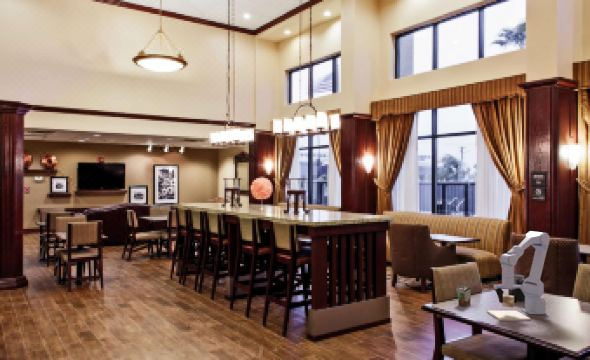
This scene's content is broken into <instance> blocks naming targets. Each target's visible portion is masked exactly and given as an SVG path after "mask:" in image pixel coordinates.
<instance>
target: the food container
mask: <svg viewBox="0 0 590 360" xmlns="http://www.w3.org/2000/svg"><path fill="white" fill-rule="evenodd" d="M456 292H457V301H458V302H457V303H458V306H460V307H463V308H466V307H468V306H469V305H471V293H472V286H470V285H458V286H457V288H456Z"/></svg>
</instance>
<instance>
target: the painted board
mask: <svg viewBox="0 0 590 360" xmlns="http://www.w3.org/2000/svg"><path fill="white" fill-rule="evenodd" d="M486 313H487V314H489V315H491V316H492V317H494V318H495V319H497V320H499V321H502V322H503V321H506V322H507V321H508V322H509V321H513V322H515V321H517V322H519V321H522V322H523V321H531V320H532V319H531V317H529V316H527V315H525V314H524V313H521V312H519V311H518V310H486Z"/></svg>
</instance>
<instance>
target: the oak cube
mask: <svg viewBox="0 0 590 360" xmlns="http://www.w3.org/2000/svg"><path fill="white" fill-rule="evenodd" d="M501 305H502V306H501V307H506V308H514V306H515V305H516V303H514V296H511V295H508V294H503V303H501Z"/></svg>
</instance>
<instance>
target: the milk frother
mask: <svg viewBox="0 0 590 360" xmlns="http://www.w3.org/2000/svg"><path fill="white" fill-rule="evenodd" d="M524 279H525V275H523V274H517V273H514V285H522V284H523V282H524ZM507 290H508V292H507V293H508V294H507V295H511V296H513V290H512V289H507ZM520 290H521V289H520ZM518 302H522V303H523V302H525V295H524V293H523V292H521V294H520V295H519V297H518V301H517V303H518Z"/></svg>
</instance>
